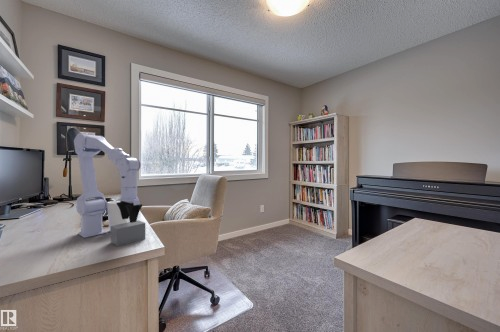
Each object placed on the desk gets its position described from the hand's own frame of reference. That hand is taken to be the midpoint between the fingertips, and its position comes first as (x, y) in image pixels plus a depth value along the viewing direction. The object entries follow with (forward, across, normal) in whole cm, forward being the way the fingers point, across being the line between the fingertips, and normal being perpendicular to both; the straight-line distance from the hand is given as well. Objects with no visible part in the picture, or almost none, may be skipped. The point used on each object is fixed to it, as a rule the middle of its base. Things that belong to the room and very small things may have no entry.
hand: (129, 220), depth 86 cm
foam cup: (+8, -18, +2) cm, 20 cm away
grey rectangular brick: (+8, 0, 0) cm, 8 cm away
